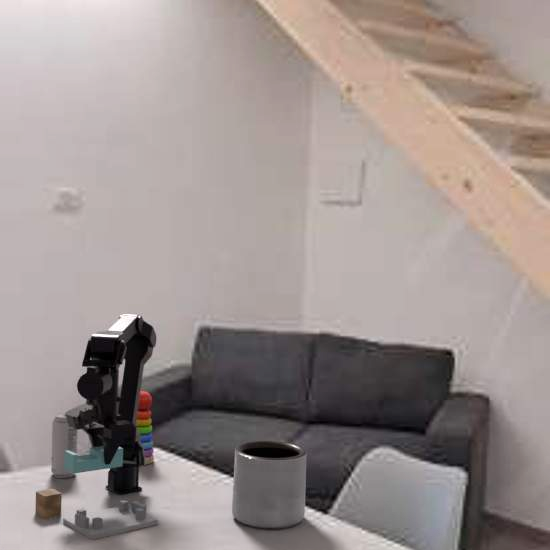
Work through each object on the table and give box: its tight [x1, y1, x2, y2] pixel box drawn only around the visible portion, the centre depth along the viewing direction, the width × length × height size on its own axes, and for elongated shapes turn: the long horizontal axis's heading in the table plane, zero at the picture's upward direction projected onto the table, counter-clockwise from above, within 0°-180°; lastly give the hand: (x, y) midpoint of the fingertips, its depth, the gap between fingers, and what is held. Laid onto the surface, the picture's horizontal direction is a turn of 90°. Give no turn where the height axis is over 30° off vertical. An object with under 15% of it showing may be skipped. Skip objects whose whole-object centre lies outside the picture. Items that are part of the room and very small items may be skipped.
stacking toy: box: [136, 390, 155, 466], centre depth 250 cm, size 8×8×19 cm
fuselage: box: [64, 446, 123, 475], centre depth 207 cm, size 12×4×4 cm, turn 129°
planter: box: [231, 440, 308, 530], centre depth 210 cm, size 16×16×16 cm
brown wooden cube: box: [34, 488, 63, 520], centre depth 207 cm, size 4×4×5 cm
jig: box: [62, 499, 159, 541], centre depth 203 cm, size 16×12×3 cm
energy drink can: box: [50, 412, 78, 479], centre depth 235 cm, size 6×6×15 cm
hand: (102, 462), depth 209 cm, fingers closed on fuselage, 4 cm apart
